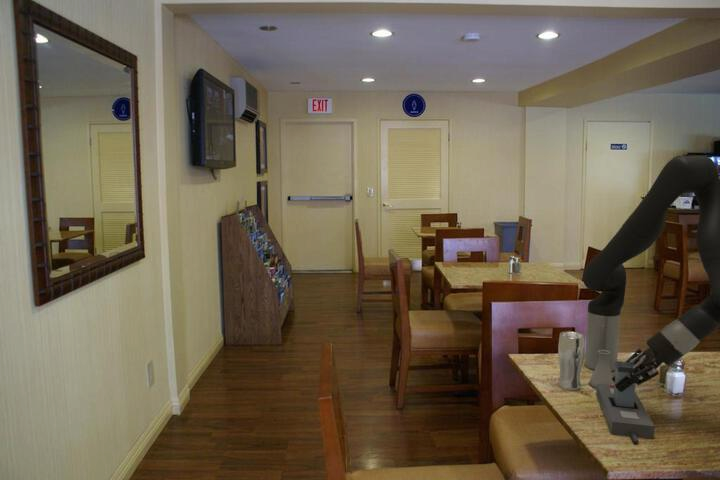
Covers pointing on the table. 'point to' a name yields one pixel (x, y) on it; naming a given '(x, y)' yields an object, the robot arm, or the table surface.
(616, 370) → the plug
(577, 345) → the beer glass
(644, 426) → the power strip
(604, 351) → the flask
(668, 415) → the table surface
